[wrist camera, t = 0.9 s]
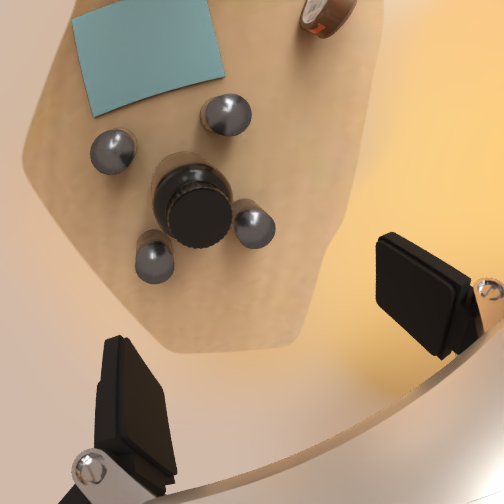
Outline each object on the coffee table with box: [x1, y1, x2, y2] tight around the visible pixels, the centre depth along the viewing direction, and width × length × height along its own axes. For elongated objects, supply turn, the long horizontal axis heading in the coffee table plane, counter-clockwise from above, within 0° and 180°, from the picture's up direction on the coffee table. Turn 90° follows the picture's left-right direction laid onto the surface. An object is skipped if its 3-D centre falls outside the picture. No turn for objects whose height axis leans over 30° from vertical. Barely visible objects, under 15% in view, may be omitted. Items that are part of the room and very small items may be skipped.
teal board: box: [72, 0, 225, 117], centre depth 23 cm, size 12×14×1 cm
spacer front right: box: [200, 94, 252, 136], centre depth 27 cm, size 4×4×5 cm
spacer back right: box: [230, 199, 275, 249], centre depth 33 cm, size 4×4×5 cm
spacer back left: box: [135, 230, 174, 284], centre depth 31 cm, size 4×4×5 cm
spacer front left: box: [90, 128, 137, 175], centre depth 25 cm, size 4×4×5 cm
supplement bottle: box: [152, 152, 233, 249], centre depth 26 cm, size 7×7×12 cm
